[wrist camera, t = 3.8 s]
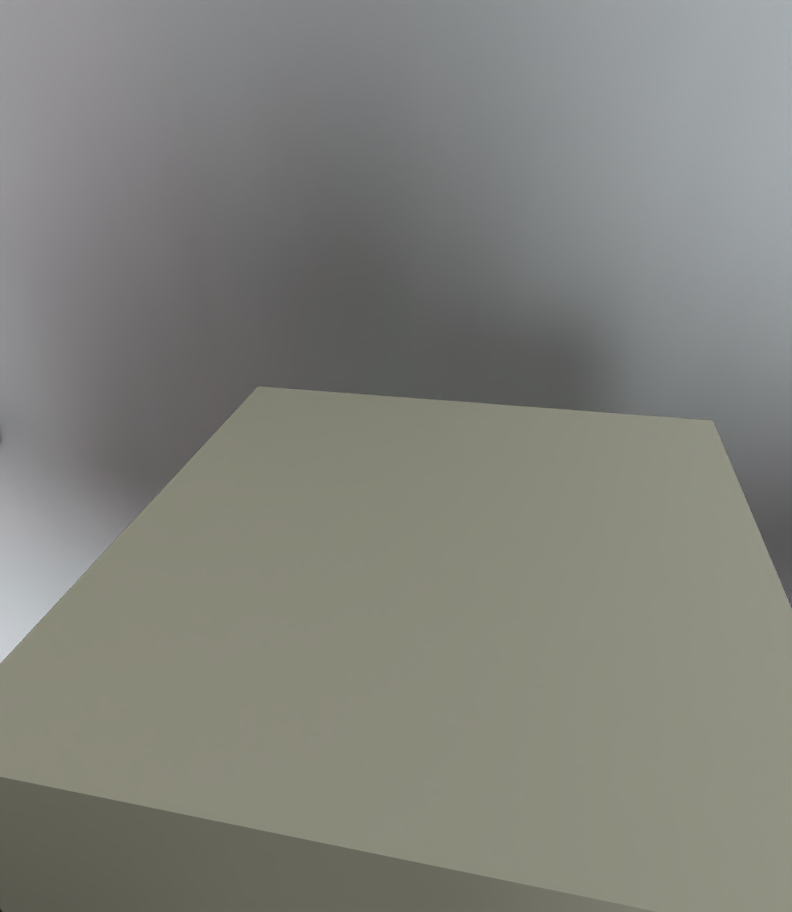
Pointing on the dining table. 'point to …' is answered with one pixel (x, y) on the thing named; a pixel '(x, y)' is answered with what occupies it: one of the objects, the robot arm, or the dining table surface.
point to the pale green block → (412, 676)
